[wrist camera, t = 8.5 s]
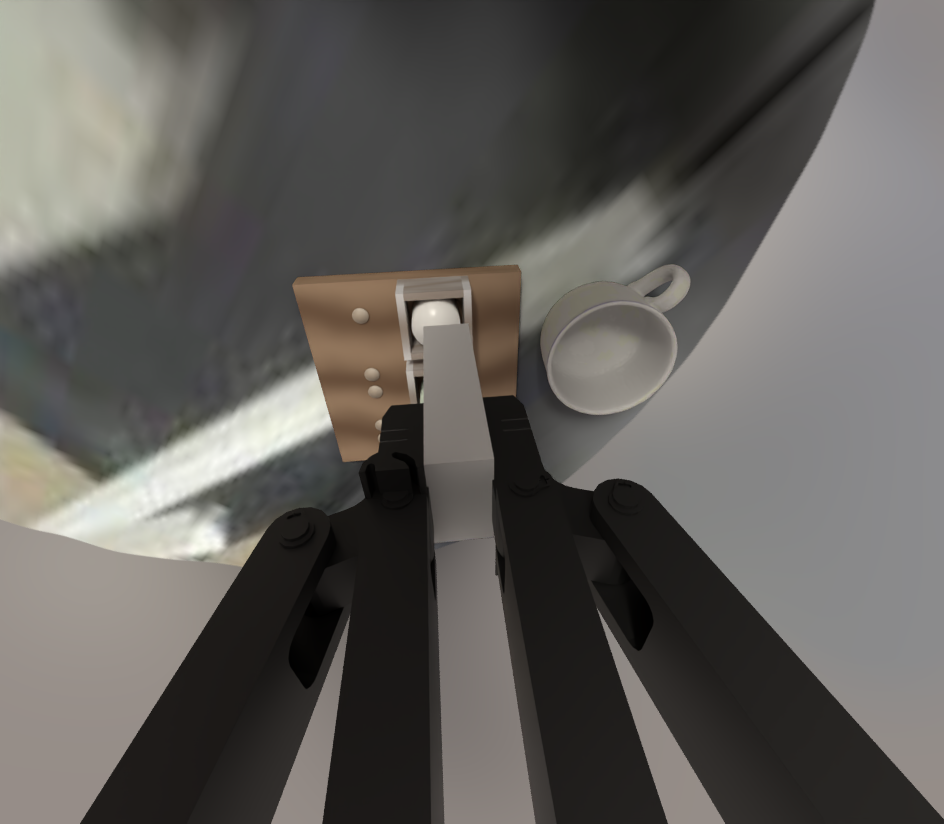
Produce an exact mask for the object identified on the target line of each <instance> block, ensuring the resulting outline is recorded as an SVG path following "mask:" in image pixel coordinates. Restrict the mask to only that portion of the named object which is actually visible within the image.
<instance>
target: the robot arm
mask: <svg viewBox="0 0 944 824" xmlns="http://www.w3.org/2000/svg"><path fill="white" fill-rule="evenodd" d="M423 369H424V403H417V404H404V405H391V406H390V408H389V409H388V410H387V412H386V413H385V414H384V416H383V417H382V424H381V433H380V443H379V449H378V453H376V454H374V455H372V456H370V457H369V458H368V459H367V460H366V461H365V462H364V463H363V464H362V466H361V468H360V471H359V476H360V480H361V483H362V487H363V491H364V494H365V498H364V499H363V500H362V501H361V502H360V503H358V504H357V505H355V506H353V507H351V508H349V509H346V510H344V511H341V512H338V513H335V514H332V515H330V516H327V515H326V514H325V513H324V512H323V511H322V510H319V509H315V508H312V507H309V508H298V509H295V510H292V511H289V512H286V513H285V514H283V515H282V516H280V517H279V518H277V519H276V520H275V521H274V522H273V523H272V524H271V525H270V526H269V527H268V529H267V530H266V531H265V533H264V535H263V536H262V538H261V539H260V541H259V542H258V544H257V546H256V547H255V549H254V550H253V552H252V553H251V555H250V557H249V558H248V560H247V561H246V563H245V564H244V566H243V568H242V569H241V571H240V572H239V574H238V576H237V577H236V579H235V580H234V582H233V583H232V585H231V587H230V588H229V590H228V591H227V593H226V594H225V596H224V598H223V599H222V601H221V602H220V604H219V605H218V607H217V609H216V610H215V612H214V613H213V615H212V617H211V618H210V620H209V621H208V623H207V624H206V626H205V628H204V629H203V631H202V633H201V634H200V635H199V637H198V639H197V640H196V642H195V643H194V645H193V647H192V648H191V650H190V651H189V653H188V654H187V656H186V658H185V660H184V661H183V662H182V664H181V666H180V667H179V669H178V670H177V672H176V673H175V675H174V676H173V678H172V679H171V681H170V683H169V684H168V686H167V687H166V689H165V691H164V692H163V694H162V695H161V697H160V699H159V700H158V702H157V703H156V705H155V706H154V708H153V709H152V711H151V713H150V714H149V716H148V717H147V719H146V720H145V722H144V724H143V725H142V727H141V728H140V730H139V731H138V733H137V735H136V736H135V738H134V739H133V741H132V743H131V744H130V746H129V747H128V749H127V750H126V752H125V754H124V755H123V757H122V758H121V760H120V761H119V763H118V765H117V766H116V768H115V769H114V771H113V772H112V774H111V776H110V777H109V779H108V780H107V782H106V784H105V785H104V787H103V788H102V790H101V792H100V793H99V794H98V796H97V798H96V799H95V801H94V803H93V804H92V806H91V807H90V809H89V810H88V812H87V813H86V815H85V817H84V818H83V820H82V821H81V823H80V824H271V822H272V819H273V816H274V814H275V811H276V809H277V806H278V803H279V801H280V798H281V795H282V793H283V790H284V787H285V785H286V782H287V780H288V777H289V774H290V772H291V769H292V766H293V764H294V761H295V758H296V756H297V753H298V750H299V747H300V745H301V742H302V740H303V737H304V735H305V732H306V729H307V727H308V724H309V721H310V719H311V716H312V713H313V710H314V708H315V705H316V702H317V700H318V697H319V695H320V692H321V690H322V687H323V684H324V682H325V679H326V676H327V674H328V671H329V668H330V666H331V663H332V660H333V658H334V655H335V652H336V650H337V647H338V644H339V642H340V639H341V636H342V634H343V631H344V629H345V626H346V623H347V621H348V618H349V615H350V622H349V629H348V636H347V644H346V651H345V659H344V666H343V674H342V681H341V689H340V696H339V704H338V711H337V719H336V726H335V733H334V741H333V749H332V756H331V763H330V771H329V778H328V786H327V793H326V801H325V809H324V816H323V823H322V824H444V798H443V771H442V770H443V767H442V734H441V702H440V675H439V674H440V671H439V639H438V607H437V577H436V576H437V574H436V559H435V551H434V543H440V542H451V541H462V540H472V539H483V538H493V537H494V536H495V542H496V570H495V573H496V575H498V577H499V583H500V590H501V597H502V603H503V610H504V616H505V623H506V630H507V636H508V642H509V649H510V656H511V663H512V669H513V676H514V683H515V689H516V696H517V702H518V709H519V715H520V722H521V729H522V735H523V742H524V749H525V755H526V761H527V768H528V775H529V782H530V789H531V794H532V801H533V808H534V815H535V821H536V824H668V823H667V820H666V816H665V813H664V810H663V807H662V805H661V801H660V798H659V795H658V792H657V789H656V786H655V783H654V781H653V777H652V774H651V771H650V768H649V765H648V762H647V759H646V756H645V753H644V750H643V747H642V744H641V741H640V738H639V735H638V732H637V729H636V726H635V723H634V720H633V716H632V713H631V710H630V707H629V704H628V702H627V698H626V695H625V692H624V690H623V686H622V684H621V680H620V677H619V674H618V671H617V668H616V665H615V662H614V659H613V656H612V653H611V650H610V647H609V644H608V641H607V638H606V635H605V632H604V629H603V626H602V623H601V619H600V617H599V614H598V610H599V611H600V613H601V615H602V617H603V618H604V620H605V622H606V623H607V625H608V627H609V628H610V630H611V632H612V633H613V635H614V637H615V638H616V640H617V642H618V644H619V645H620V647H621V648H622V650H623V652H624V654H625V655H626V657H627V659H628V660H629V662H630V664H631V665H632V667H633V669H634V670H635V672H636V674H637V675H638V677H639V679H640V681H641V682H642V684H643V686H644V687H645V689H646V691H647V692H648V694H649V696H650V697H651V699H652V701H653V702H654V704H655V706H656V708H657V709H658V711H659V713H660V714H661V716H662V718H663V719H664V721H665V722H666V724H667V726H668V728H669V729H670V731H671V733H672V734H673V736H674V738H675V739H676V741H677V743H678V745H679V746H680V748H681V749H682V751H683V753H684V755H685V756H686V758H687V760H688V761H689V763H690V765H691V766H692V768H693V770H694V771H695V773H696V775H697V776H698V778H699V780H700V781H701V783H702V785H703V787H704V788H705V790H706V792H707V793H708V795H709V797H710V798H711V800H712V802H713V803H714V805H715V807H716V808H717V810H718V812H719V814H720V815H721V817H722V819H723V820H724V822H725V824H944V819H943V818H942V817H941V816H940V815H939V813H938V812H937V811H936V810H935V809H934V808H933V807H932V806H931V805H930V803H929V802H928V801H927V800H926V799H925V798H924V797H923V796H922V794H921V793H920V792H919V791H918V790H917V789H916V788H915V787H914V786H913V784H912V783H911V782H910V781H909V780H908V779H907V778H906V777H905V776H904V774H903V773H902V772H901V771H900V770H899V769H898V768H897V767H896V766H895V764H894V763H893V762H892V761H891V760H890V759H889V758H888V757H887V755H886V754H885V753H884V752H883V751H882V750H881V749H880V748H879V747H878V745H877V744H876V743H875V742H874V741H873V740H872V739H871V738H870V736H869V735H868V734H867V733H866V732H865V731H864V730H863V729H862V728H861V726H859V724H858V723H857V722H856V721H855V720H854V719H853V718H852V716H850V714H849V713H848V712H847V711H846V710H845V709H844V708H843V706H842V705H841V704H840V703H839V702H838V701H837V700H836V699H835V698H834V696H832V694H831V693H830V692H829V691H828V690H827V689H826V688H825V686H824V685H823V684H822V683H821V682H820V681H819V680H818V679H817V677H816V676H815V675H814V674H813V673H812V672H811V671H810V670H809V669H808V667H807V666H806V665H805V664H804V663H803V662H802V661H801V660H800V658H799V657H798V656H797V655H796V654H795V653H794V652H793V651H792V650H791V649H790V647H789V646H788V645H787V644H786V643H785V642H784V641H783V639H782V638H781V637H780V636H779V635H778V634H777V633H776V632H775V631H774V630H773V628H772V627H771V626H770V625H769V624H768V623H767V622H766V621H765V620H764V618H763V617H762V616H761V615H760V614H759V613H758V612H757V611H756V609H755V608H754V607H753V606H752V605H751V604H750V603H749V602H748V601H747V599H746V598H745V597H744V596H743V595H742V594H741V593H740V592H739V591H738V589H737V588H736V587H735V586H734V585H733V584H732V583H731V582H730V581H729V579H728V578H727V577H726V576H725V575H724V574H723V573H722V572H721V570H720V569H719V568H718V567H717V566H716V565H715V564H714V563H713V562H712V560H710V558H709V557H708V556H707V555H706V554H705V553H704V551H703V550H702V549H701V548H700V547H699V546H698V545H697V544H696V542H695V541H694V540H693V539H692V538H691V537H690V536H689V535H688V534H687V532H686V531H685V530H684V529H683V528H682V527H681V526H680V525H679V524H678V523H677V521H676V520H675V519H674V518H673V517H672V516H671V515H670V514H669V513H668V512H667V510H666V509H665V508H664V507H663V506H662V505H661V503H660V502H659V501H658V500H657V499H656V498H655V497H654V496H653V495H652V493H650V492H649V491H648V490H647V489H646V488H644V487H643V486H642V485H639V484H637V483H635V482H632V481H630V480H624V479H611V480H606V481H604V482H603V483H600V484H599V485H598V486H597V488H596V489H595V490H594V491H589V490H582V489H577V488H572V487H568V486H565V485H563V484H561V483H559V482H557V481H555V480H554V479H553V478H552V476H551V475H550V474H549V473H548V472H546V471H545V469H544V467H543V465H542V462H541V458H540V455H539V452H538V449H537V446H536V443H535V439H534V436H533V433H532V430H531V427H530V424H529V420H528V418H527V414H526V411H525V408H524V405H523V404H522V403H521V402H520V401H519V400H518V399H517V398H516V397H515V396H514V395H507V396H494V397H482V393H481V388H480V382H479V377H478V372H477V367H476V362H475V356H474V351H473V346H472V341H471V335H470V330H469V325H468V323H466V324H451V325H435V326H423ZM597 608H598V610H597ZM350 613H351V614H350Z"/></svg>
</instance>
